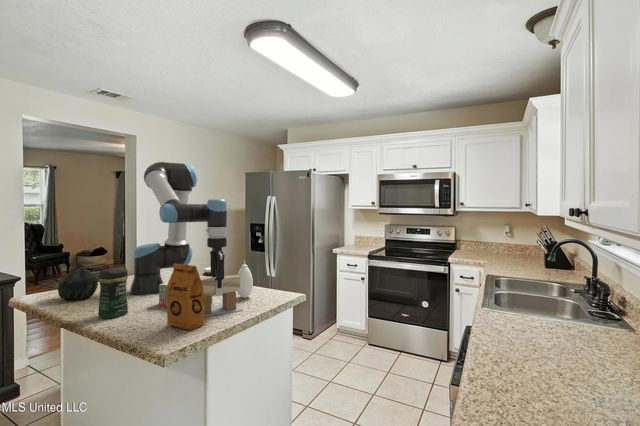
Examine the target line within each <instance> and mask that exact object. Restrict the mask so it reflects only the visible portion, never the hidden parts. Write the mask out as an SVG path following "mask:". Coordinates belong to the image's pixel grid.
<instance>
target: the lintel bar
mask: <svg viewBox="0 0 640 426" xmlns="http://www.w3.org/2000/svg"><path fill="white" fill-rule="evenodd" d="M237 275H238V274H233V275H232V274H231V275H224V279H223V293H229V292H237V291H240V276H237ZM214 279H216V278H209V279H202V280H201V282H202V285H203V293H204V297H205V296H211V295H212V296H215V280H214Z"/></svg>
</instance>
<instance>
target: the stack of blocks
mask: <svg viewBox="0 0 640 426" xmlns="http://www.w3.org/2000/svg"><path fill="white" fill-rule="evenodd" d="M199 276H200V279H201V280H202V279H209V278H212V277H210V276H202V275H199ZM168 282H169V281H165V282H163V283H162V284H160V285H159V293H158V306H159V307H167V285H168ZM212 304H213V295H211V305H212Z"/></svg>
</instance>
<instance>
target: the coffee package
mask: <svg viewBox="0 0 640 426" xmlns="http://www.w3.org/2000/svg"><path fill="white" fill-rule="evenodd" d="M197 267H198V266H196V265H192V264H191V265H190V264H188V265H184V264H174V265H173V266H172V268H173V270H172V273H171V276H170V278H169V280H168V281H167V282H168V285H167V306H166V313H167V314H166V316H167V319H166V320H167V322H166V323H167V325H169V326H173V327H177V328H179V329H184V330H188V331H192V330H196V329H197V328H201V327H203V326H205V317H204V310H205V302H204V293H203V285H202V282H201V279H200V276H201V275H200V273H199V270H198V268H197Z"/></svg>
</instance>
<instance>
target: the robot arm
mask: <svg viewBox="0 0 640 426" xmlns="http://www.w3.org/2000/svg"><path fill="white" fill-rule="evenodd" d="M143 180H144V183H145V185H146V186H147V188H149V189H151V191H152V193H153V194H154V196H155V197H156V200H157V201H158V204H159V205H160V208H159V211H158V213H159V218H160V221H161V222H162V223H164V224H165V223H167V224H168V232H167V239H166V240H164V243H163V245H161V243H159V242H157V243H156V242H155V243H147V244H146V243H145V244H141V245H138V246H136V247H135V248H134V250H133V279H132V282H131V284H130V287H129V294H130V295H135V296H146V295H147V296H148V295H153V294H154V295H155V294H159V285H160V284H162V283H164V282H163V279H162V276H161V270H162V269H171V268H172V266H173V265H174V264H184V265H190V263H191V261H192V258H193V246H192V245H191V244H189V240H188V239H187V225H188V224H187V223H207V228H206V229H205V231H206V233H207V234H206V235H207V240H206V242H207V243H206V245H207V248H210V249H212V250H210V251H209V254H210V255H209V257H210V267H211V273H210V274H211V276H212V278H216V279H214V280H215V295H214V296H215V297H222V296H223V279H224V276H225V253H224V251H223V248H226V247H227V246H228V245H227V244H228V243H227V236H228V234H227V232H228V228H227V220H228V219H227V218H228V217H227V216H228V212H227V211H228V208H227V207H228V206H227V200H225V199H218V198H217V199H215V198H213V199H212V198H211V199H210V198H209V199H208V200H207V203H201V204H200V203H196V204H195V203H192V204H191V203H189V194H190V193H191V192H192V191H193V188H195V187H196V186H197V181H198V176H197V172H196V170H195V168H194V166H193V165H192V164H187V163H180V162H179V163H178V162H165V161H158V162H154V163H152V164H150V165H149V166H148V167H147V168H146V169H145V171H144V173H143Z"/></svg>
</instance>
